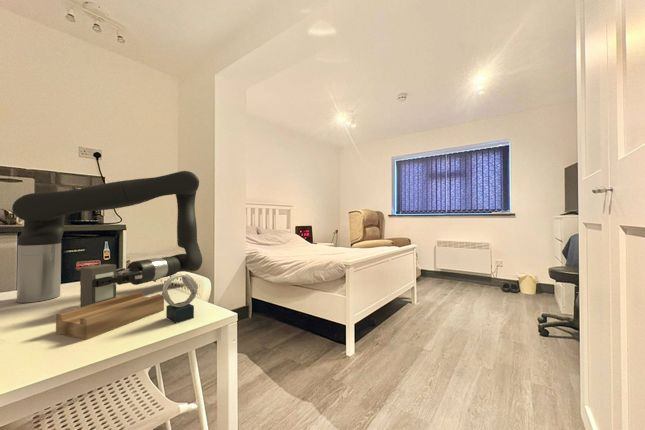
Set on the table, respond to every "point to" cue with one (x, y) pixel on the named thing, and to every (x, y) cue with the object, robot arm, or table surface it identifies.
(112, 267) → the tall taupe pillar block
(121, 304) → the wooden channel tray
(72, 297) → the table surface
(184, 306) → the watch
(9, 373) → the table surface
